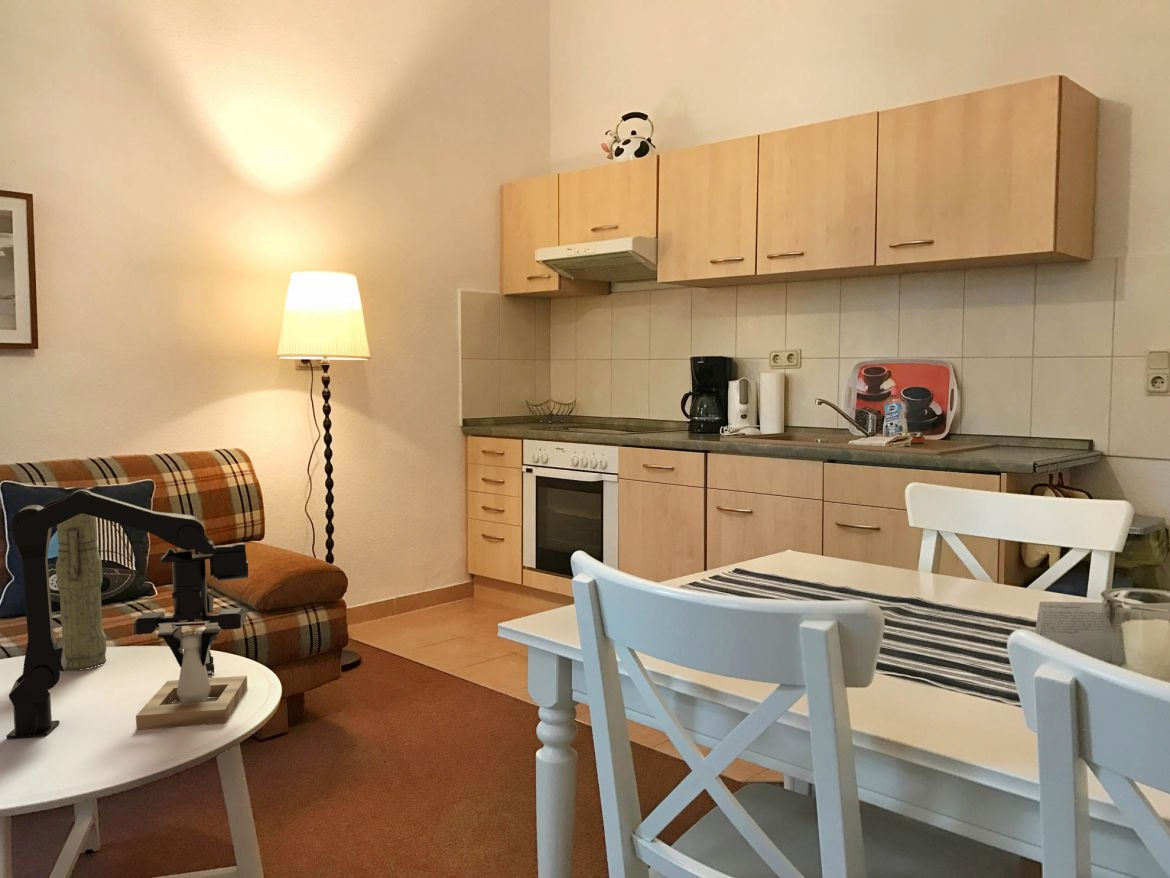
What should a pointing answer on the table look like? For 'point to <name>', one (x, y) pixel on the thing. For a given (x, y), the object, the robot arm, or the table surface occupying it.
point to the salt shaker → (192, 671)
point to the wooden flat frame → (192, 705)
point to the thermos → (80, 592)
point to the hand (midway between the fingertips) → (193, 666)
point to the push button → (209, 661)
